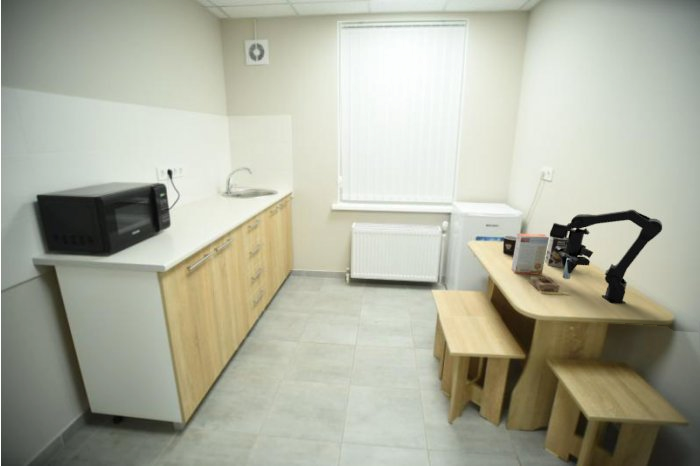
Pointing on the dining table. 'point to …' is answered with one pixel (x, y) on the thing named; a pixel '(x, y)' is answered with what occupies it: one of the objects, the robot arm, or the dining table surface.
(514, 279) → the dining table surface
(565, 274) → the light blue cylinder
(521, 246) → the cracker box
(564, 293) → the lace
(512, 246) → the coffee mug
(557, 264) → the coffee box
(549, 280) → the brown square frame
